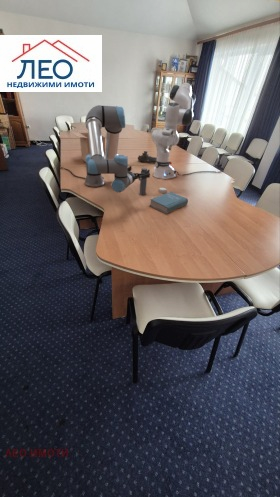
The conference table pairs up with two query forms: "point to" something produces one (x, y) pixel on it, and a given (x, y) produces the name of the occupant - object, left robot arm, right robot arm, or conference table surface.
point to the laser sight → (146, 158)
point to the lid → (162, 190)
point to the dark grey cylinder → (143, 183)
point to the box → (87, 142)
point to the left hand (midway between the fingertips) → (139, 169)
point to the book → (168, 202)
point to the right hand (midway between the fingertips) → (167, 151)
